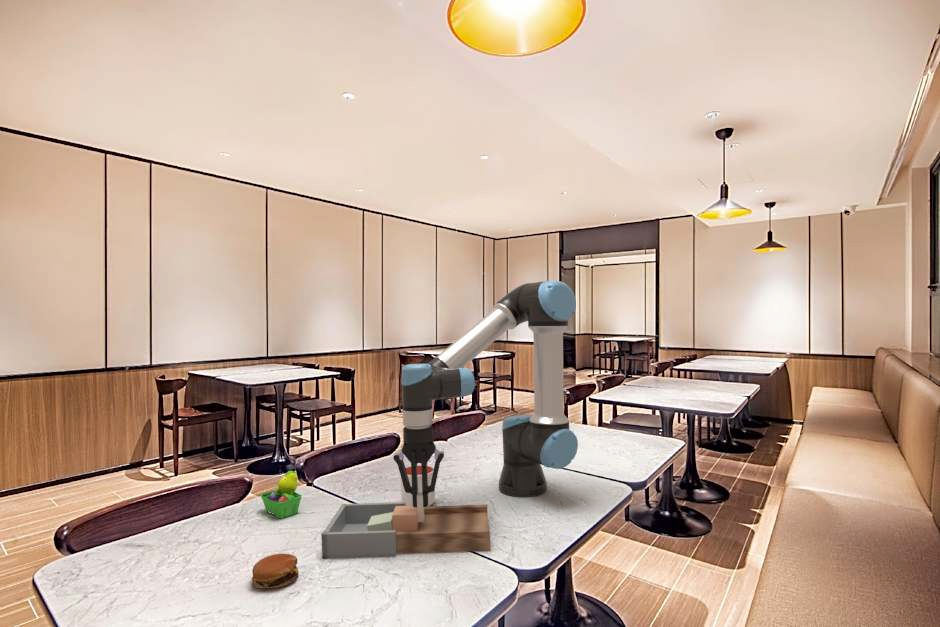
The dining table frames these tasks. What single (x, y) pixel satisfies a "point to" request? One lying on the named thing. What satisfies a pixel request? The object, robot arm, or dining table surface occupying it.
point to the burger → (275, 571)
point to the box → (359, 532)
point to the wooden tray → (448, 531)
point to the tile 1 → (380, 522)
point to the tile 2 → (405, 518)
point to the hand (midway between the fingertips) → (421, 519)
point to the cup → (408, 496)
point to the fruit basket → (283, 497)
